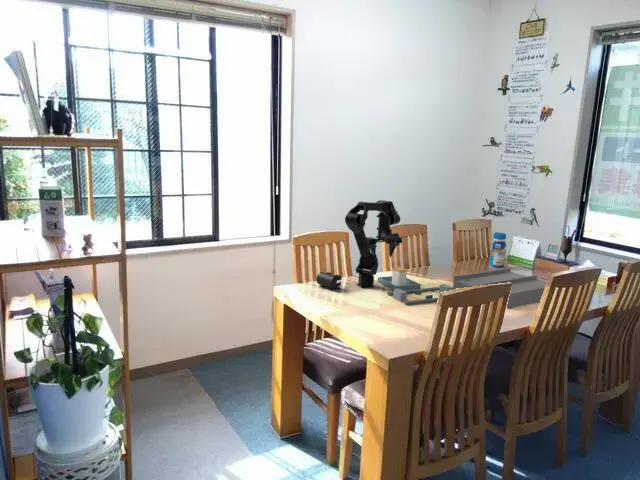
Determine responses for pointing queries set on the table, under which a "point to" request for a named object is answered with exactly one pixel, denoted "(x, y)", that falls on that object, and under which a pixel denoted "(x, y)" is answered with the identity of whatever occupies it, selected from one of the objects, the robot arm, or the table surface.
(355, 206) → the robot arm
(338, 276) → the electric motor
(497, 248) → the beverage bottle
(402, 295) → the fuse holder
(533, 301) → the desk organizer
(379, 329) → the table surface
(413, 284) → the tray
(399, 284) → the fuse
